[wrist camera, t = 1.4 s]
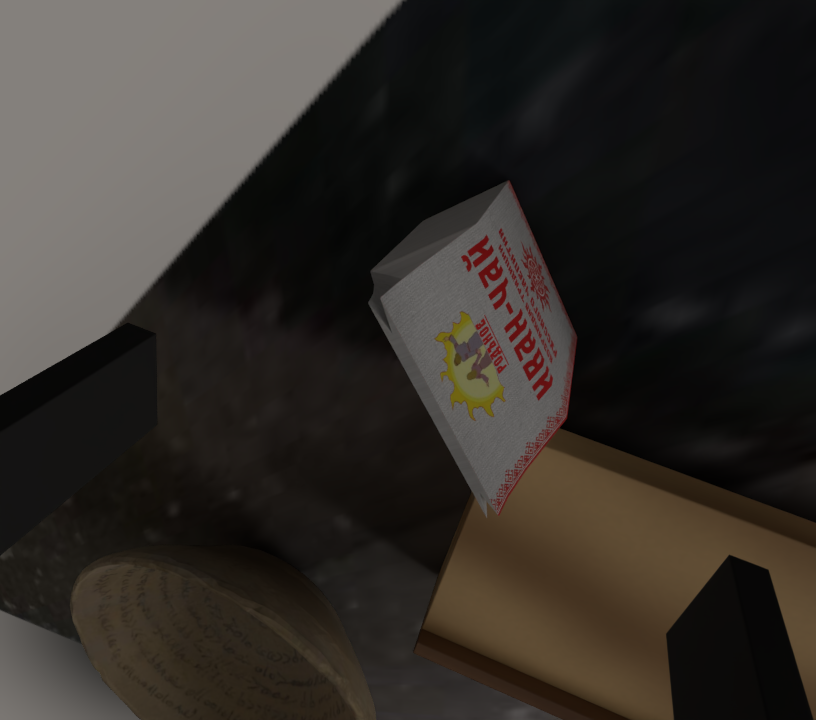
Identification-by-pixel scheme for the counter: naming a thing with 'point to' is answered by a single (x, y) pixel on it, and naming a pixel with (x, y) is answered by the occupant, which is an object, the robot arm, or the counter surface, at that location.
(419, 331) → the herbal tea packet
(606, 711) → the shelf
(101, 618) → the bowl
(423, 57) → the counter surface
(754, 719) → the robot arm
